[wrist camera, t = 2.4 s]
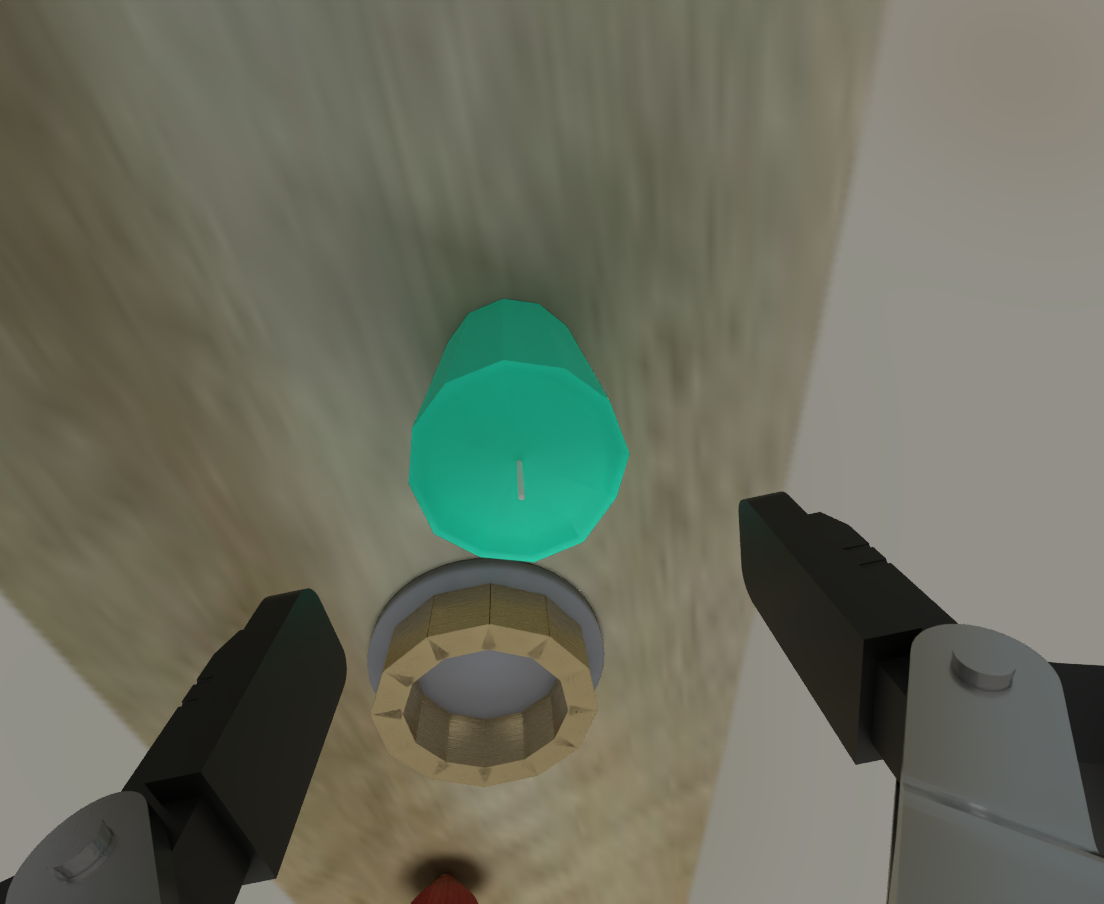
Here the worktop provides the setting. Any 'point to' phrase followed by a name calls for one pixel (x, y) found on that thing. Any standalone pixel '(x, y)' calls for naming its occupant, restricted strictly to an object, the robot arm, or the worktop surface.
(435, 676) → the dish
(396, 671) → the collar
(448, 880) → the onion
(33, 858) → the robot arm
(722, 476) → the worktop surface
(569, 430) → the candle
